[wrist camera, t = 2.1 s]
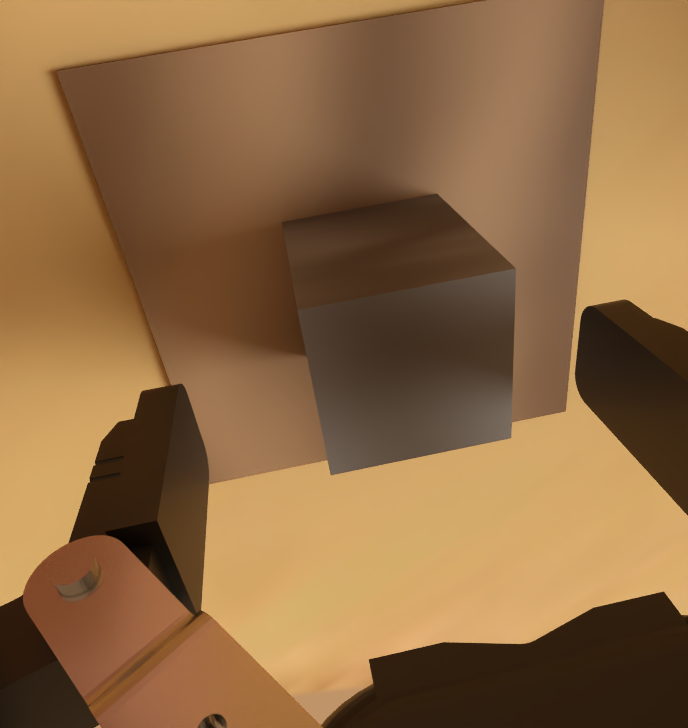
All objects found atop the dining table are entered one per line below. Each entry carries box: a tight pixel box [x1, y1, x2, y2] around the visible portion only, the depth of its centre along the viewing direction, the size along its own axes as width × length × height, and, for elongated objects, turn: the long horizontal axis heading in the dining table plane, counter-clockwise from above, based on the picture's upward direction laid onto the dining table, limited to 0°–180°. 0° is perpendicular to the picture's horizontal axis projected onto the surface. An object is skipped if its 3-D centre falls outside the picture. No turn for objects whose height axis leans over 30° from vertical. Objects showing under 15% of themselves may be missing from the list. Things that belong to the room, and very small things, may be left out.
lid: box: [56, 0, 604, 484], centre depth 14 cm, size 12×12×6 cm
